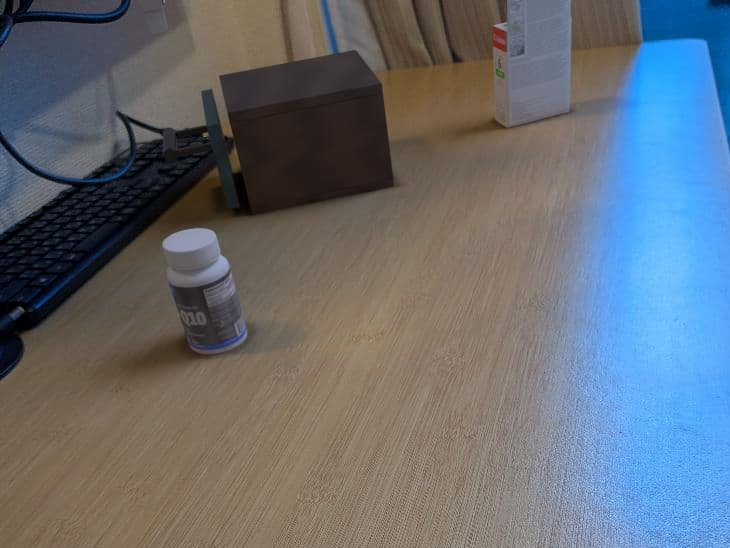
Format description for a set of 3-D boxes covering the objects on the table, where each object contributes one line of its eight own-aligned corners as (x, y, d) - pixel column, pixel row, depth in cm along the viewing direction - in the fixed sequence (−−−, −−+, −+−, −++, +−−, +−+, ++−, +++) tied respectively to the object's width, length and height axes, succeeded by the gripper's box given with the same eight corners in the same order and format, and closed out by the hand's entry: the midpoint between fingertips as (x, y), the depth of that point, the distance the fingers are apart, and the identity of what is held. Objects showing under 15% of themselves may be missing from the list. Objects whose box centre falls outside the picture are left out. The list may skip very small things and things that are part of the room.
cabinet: (252, 216, 83) (227, 112, 76) (242, 171, 93) (218, 75, 86) (394, 188, 84) (382, 83, 77) (369, 145, 94) (356, 49, 87)
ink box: (493, 122, 95) (488, -29, 85) (555, 106, 97) (557, -44, 87) (507, 130, 93) (504, -24, 82) (570, 114, 94) (574, -39, 84)
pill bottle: (178, 346, 66) (143, 244, 60) (223, 320, 68) (194, 220, 62) (214, 363, 63) (182, 259, 57) (260, 335, 65) (233, 232, 60)
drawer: (180, 219, 82) (154, 136, 77) (177, 176, 91) (154, 99, 86) (359, 183, 84) (347, 99, 78) (339, 144, 93) (327, 66, 87)
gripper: (76, -174, 74) (126, 4, 84) (59, -163, 59) (122, 52, 69) (146, -184, 75) (187, -5, 84) (146, -175, 60) (197, 40, 70)
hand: (158, 21), depth 77 cm, fingers open, 8 cm apart
